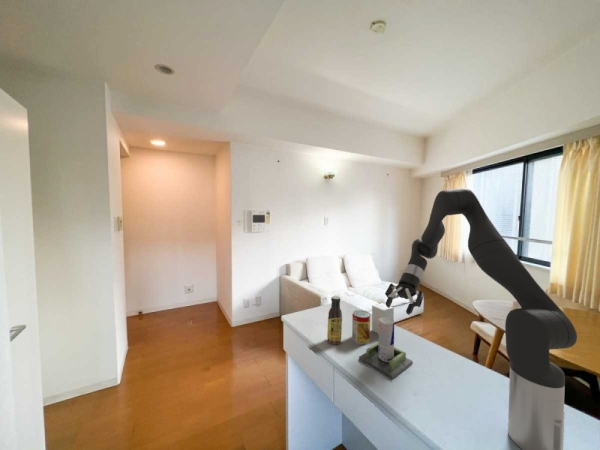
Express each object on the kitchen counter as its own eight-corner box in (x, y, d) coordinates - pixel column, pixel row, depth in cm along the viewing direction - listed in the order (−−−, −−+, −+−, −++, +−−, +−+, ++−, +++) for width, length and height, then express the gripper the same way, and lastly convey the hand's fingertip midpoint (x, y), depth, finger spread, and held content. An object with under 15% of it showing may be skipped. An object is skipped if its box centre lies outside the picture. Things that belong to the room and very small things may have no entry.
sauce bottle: (330, 346, 98) (330, 300, 97) (325, 338, 104) (325, 295, 103) (344, 344, 100) (344, 299, 99) (338, 337, 106) (338, 294, 105)
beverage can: (395, 364, 84) (395, 324, 84) (379, 362, 85) (379, 322, 85) (392, 355, 90) (392, 317, 89) (377, 353, 91) (377, 316, 90)
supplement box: (394, 333, 109) (394, 307, 109) (382, 337, 106) (383, 310, 105) (382, 327, 116) (382, 302, 115) (371, 330, 112) (371, 305, 112)
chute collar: (412, 364, 86) (412, 353, 86) (392, 379, 78) (392, 367, 78) (379, 347, 97) (379, 337, 97) (359, 359, 89) (359, 349, 89)
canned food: (373, 342, 102) (374, 315, 101) (359, 345, 99) (359, 318, 98) (362, 333, 109) (363, 308, 109) (348, 336, 106) (349, 311, 106)
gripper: (393, 269, 103) (377, 299, 96) (426, 275, 91) (411, 310, 85) (398, 279, 106) (384, 309, 99) (431, 286, 95) (418, 320, 88)
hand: (397, 309), depth 92 cm, fingers open, 8 cm apart
